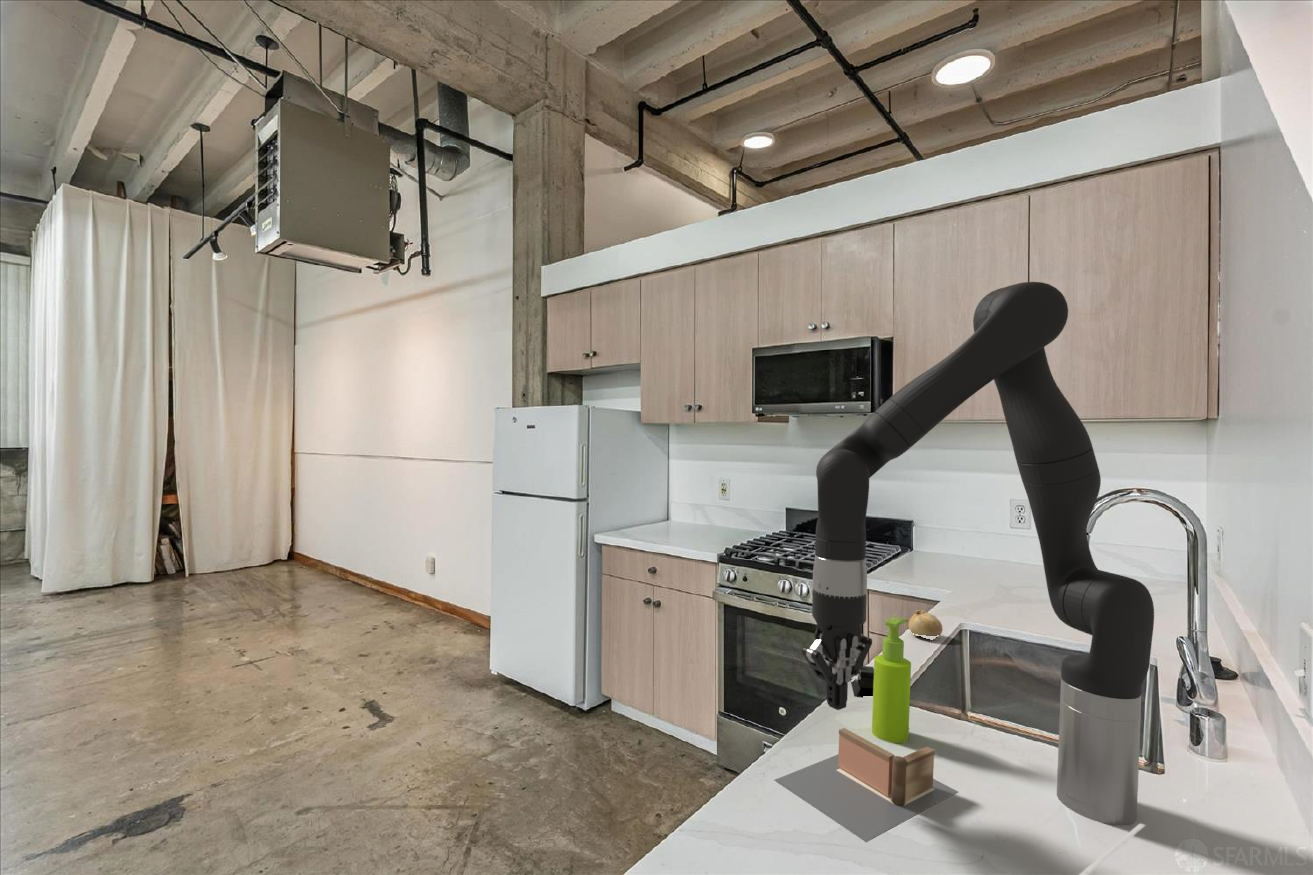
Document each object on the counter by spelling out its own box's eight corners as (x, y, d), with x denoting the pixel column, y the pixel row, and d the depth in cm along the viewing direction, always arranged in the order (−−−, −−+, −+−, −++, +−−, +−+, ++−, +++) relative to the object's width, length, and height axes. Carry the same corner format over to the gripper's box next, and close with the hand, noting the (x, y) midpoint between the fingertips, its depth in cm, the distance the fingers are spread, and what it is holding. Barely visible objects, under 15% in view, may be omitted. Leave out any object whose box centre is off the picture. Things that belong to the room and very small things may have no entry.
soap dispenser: (915, 734, 107) (920, 619, 107) (900, 748, 102) (904, 627, 102) (882, 723, 111) (886, 612, 111) (866, 736, 106) (870, 619, 106)
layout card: (865, 745, 102) (865, 743, 102) (958, 794, 89) (958, 791, 89) (774, 782, 91) (774, 779, 91) (865, 844, 77) (865, 841, 77)
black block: (845, 677, 133) (846, 656, 133) (881, 681, 131) (882, 660, 131) (851, 701, 121) (851, 678, 121) (890, 706, 119) (891, 683, 119)
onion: (932, 633, 165) (933, 606, 164) (947, 643, 157) (948, 615, 157) (903, 632, 164) (904, 605, 164) (916, 642, 156) (917, 614, 156)
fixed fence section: (923, 783, 91) (925, 742, 91) (935, 789, 90) (936, 748, 90) (888, 800, 86) (889, 758, 86) (899, 807, 85) (901, 764, 85)
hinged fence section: (892, 794, 87) (894, 754, 87) (887, 796, 87) (888, 756, 87) (843, 763, 95) (844, 727, 95) (837, 766, 94) (838, 729, 94)
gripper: (828, 600, 82) (826, 729, 83) (890, 587, 90) (887, 706, 90) (787, 587, 89) (785, 707, 89) (848, 576, 96) (846, 687, 96)
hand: (837, 706), depth 89 cm, fingers closed
